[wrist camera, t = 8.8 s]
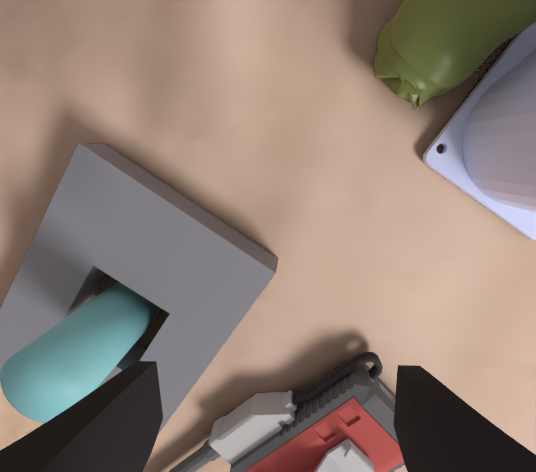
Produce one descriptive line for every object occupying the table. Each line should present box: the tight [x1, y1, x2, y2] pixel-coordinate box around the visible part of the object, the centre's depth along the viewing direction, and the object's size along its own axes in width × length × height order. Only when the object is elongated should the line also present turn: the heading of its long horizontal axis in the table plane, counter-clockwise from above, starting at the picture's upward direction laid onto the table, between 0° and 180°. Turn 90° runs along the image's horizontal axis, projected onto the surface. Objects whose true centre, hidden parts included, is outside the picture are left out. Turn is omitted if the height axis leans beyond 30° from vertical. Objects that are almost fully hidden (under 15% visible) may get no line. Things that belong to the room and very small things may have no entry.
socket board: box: [0, 143, 278, 434], centre depth 20 cm, size 16×12×2 cm
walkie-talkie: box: [169, 352, 405, 472], centre depth 21 cm, size 9×4×20 cm
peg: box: [0, 281, 160, 423], centre depth 17 cm, size 4×4×8 cm
